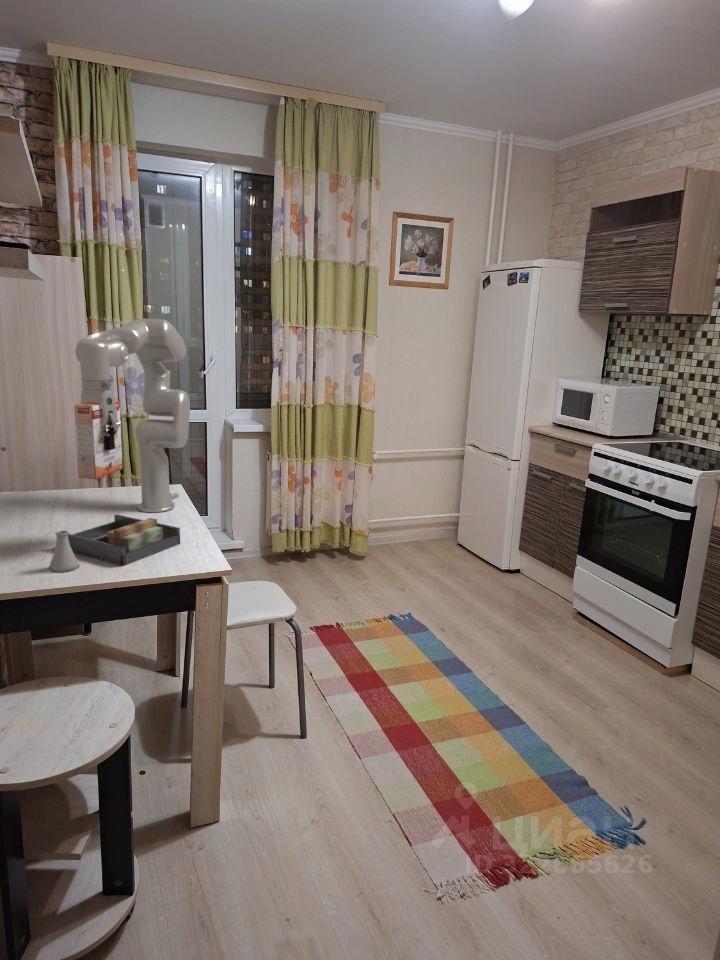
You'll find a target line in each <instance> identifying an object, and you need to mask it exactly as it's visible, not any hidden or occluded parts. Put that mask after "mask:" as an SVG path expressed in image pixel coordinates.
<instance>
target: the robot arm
mask: <svg viewBox="0 0 720 960" xmlns="http://www.w3.org/2000/svg"><path fill="white" fill-rule="evenodd" d="M186 352H187V350H186V343H185V341H184V339H183V337H182V336H181V335H180V334H179V331H177V329H176V327H174V325H173V324H172V323H171V322H169V320H167V319H163V318H136V319H134V320H131V321H129V322H128V323H126V324H125V325H123V326H121V327H117V328H116V327H115V328H112V329H108V330H102V331H98V332H95V333H91V334H89V335H86V336H85V337H83V338H81V339H80V340H79V341H78V342H77V344H76V346H75V356H76V359H77V360H78V362H79V363H80V364H79V365H80V375H81V376H80V377H81V378H80V379H81V380H80V381H81V394H80V404H83V403H93V404H99V405H100V409H101V420H102V426H103V427H104V433H105V435H106V436H104V447H105V450H112V449H115V441H114V435H116V432H117V430H118V428H119V426H120V422H119V421H118V420H117V410H116V404H115V395H114V392H113V391H112V390H111V388H112V385H111V371H110V367H121V366H123V365H125V364H126V363H127V362H128V359H129V355H132V354H136V356H137V359H138V361H139V363H140V365H141V367H142V369H143V374H144V384H143V398H142V409H143V412H144V413H145V414H146V415H148V416H153V417H166V418H167V417H168V418H169V417H170V418H171V417H172V418H173V419H172V420H171V419H170V420H169V419H167V420H166V419H154V418H153V419H151V418H150V419H143V420H141V421H139V422H138V423H137V425H136V427H135V437H136V442H137V446H138V452H139V454H138V455H139V465H140V467H139V469H140V470H139V471H140V487H141V490H140V491H141V502H140V503H139V504H137V510H138V511H140V512H144V513H162V512H168V511H171V510H173V509H174V508H175V504H176V503H174V502H173V500H175V499H178V498H179V496H180V494H179V493H178V492H175V493H171V492H170V467H169V458H168V455H167V453H166V452H165V450H164V449H166V448H167V449H168V448H169V449H182V448H184V447H185V446H186V445H187V442H188V439H189V428H190V415H191V401H190V400H191V399H190V397H189V394H188V393H187V392H186V391H185V390H182V389H173V388H171V375H170V372H169V370H168V369H167V368H166V366H165V365H164V364H163V363H162V362H166V363H167V362H169V363H170V362H171V363H178V362H181V361H183V360H184V359H185V357H186ZM111 422H112V423H111ZM107 423H109V425H107ZM107 428H109V429H110V430H109V431H108V429H107ZM163 448H164V449H163Z"/></svg>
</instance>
